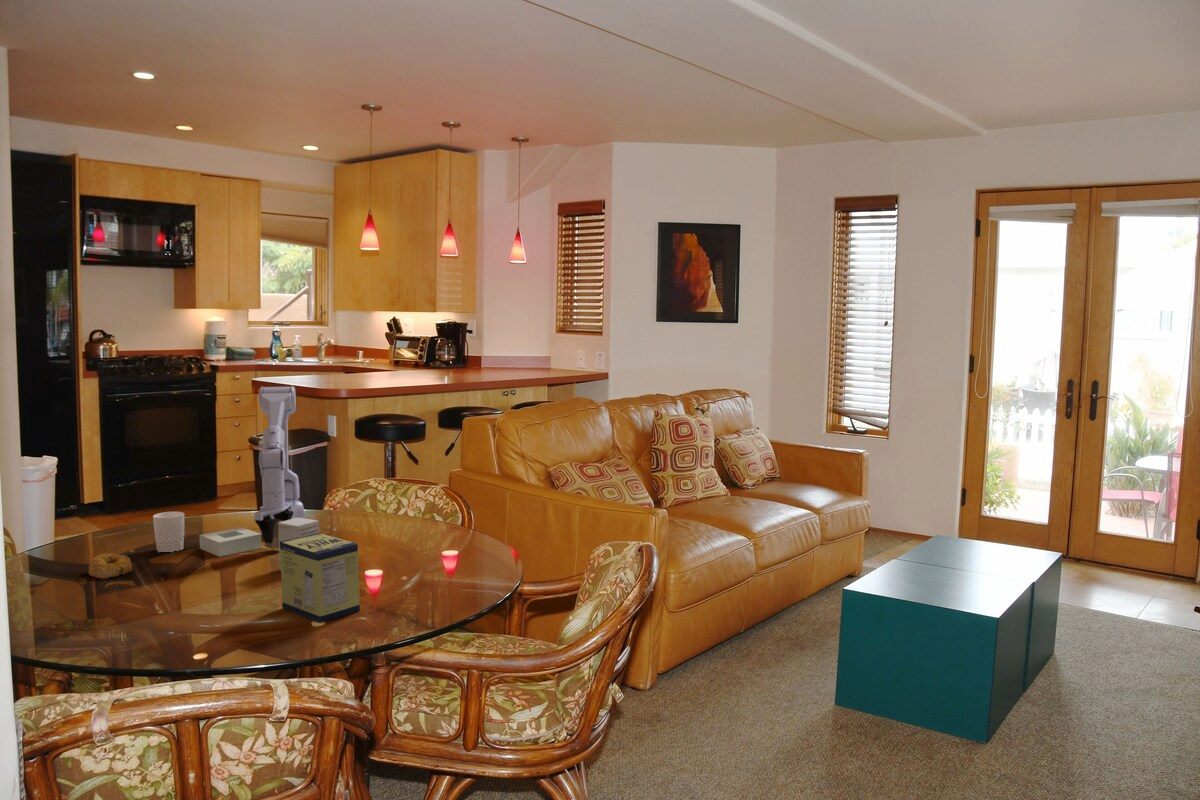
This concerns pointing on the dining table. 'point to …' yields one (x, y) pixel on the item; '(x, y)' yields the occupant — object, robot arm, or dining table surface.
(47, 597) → the dining table surface
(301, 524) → the supplement box
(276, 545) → the peg
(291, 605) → the protein box
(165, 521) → the white cup
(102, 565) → the bagel
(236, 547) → the socket block
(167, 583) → the dining table surface
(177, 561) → the dining table surface
